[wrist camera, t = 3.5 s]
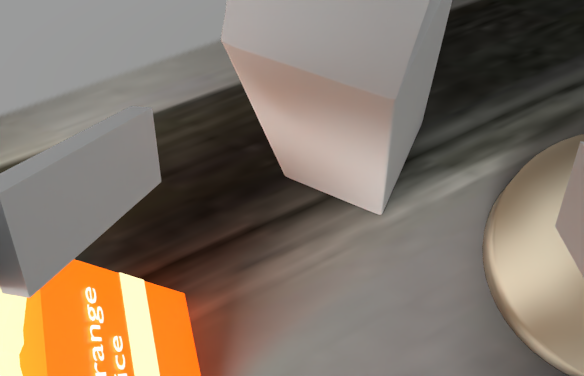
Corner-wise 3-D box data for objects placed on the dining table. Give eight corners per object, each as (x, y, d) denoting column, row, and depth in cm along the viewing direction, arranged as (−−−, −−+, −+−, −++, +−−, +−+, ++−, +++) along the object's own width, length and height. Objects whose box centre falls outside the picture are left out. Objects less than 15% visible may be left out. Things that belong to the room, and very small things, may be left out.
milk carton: (381, 216, 30) (404, 24, 12) (284, 176, 32) (180, -40, 14) (422, 124, 32) (493, -164, 14) (327, 91, 34) (283, -199, 16)
